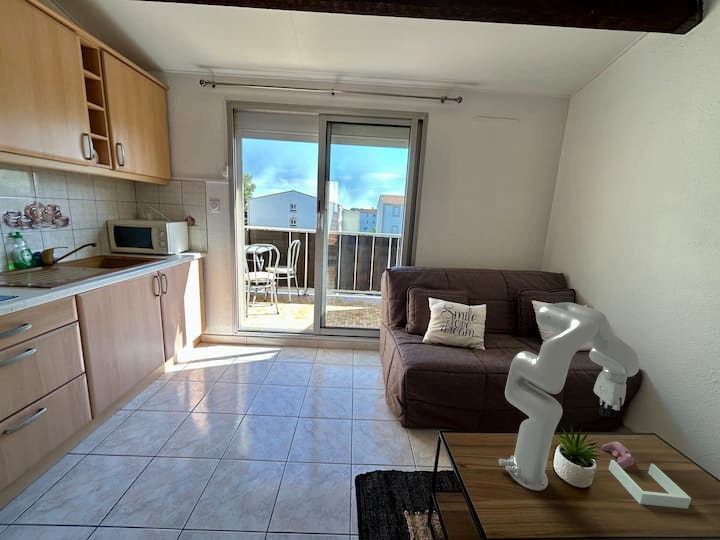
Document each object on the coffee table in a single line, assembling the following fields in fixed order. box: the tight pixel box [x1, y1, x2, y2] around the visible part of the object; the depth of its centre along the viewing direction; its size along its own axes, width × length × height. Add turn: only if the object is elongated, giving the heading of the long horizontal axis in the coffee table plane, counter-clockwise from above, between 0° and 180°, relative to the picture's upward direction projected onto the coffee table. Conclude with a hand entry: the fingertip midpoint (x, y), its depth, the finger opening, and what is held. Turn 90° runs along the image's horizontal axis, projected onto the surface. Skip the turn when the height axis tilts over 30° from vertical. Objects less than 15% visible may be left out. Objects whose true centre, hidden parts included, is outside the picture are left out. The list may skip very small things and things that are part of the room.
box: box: [608, 459, 692, 510], centre depth 100 cm, size 15×13×4 cm
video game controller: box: [601, 441, 635, 469], centre depth 111 cm, size 10×5×7 cm, turn 169°
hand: (603, 414), depth 121 cm, fingers closed
